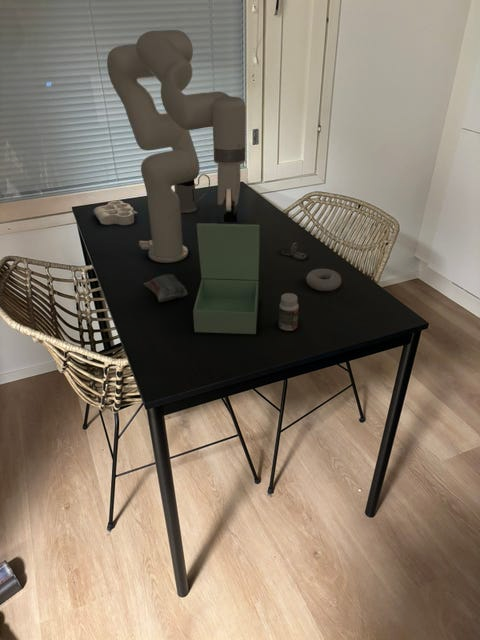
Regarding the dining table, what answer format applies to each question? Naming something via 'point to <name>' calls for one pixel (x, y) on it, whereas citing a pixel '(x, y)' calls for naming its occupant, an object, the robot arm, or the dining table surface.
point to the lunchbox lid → (229, 250)
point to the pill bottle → (288, 312)
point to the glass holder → (188, 195)
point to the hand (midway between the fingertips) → (230, 227)
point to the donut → (323, 279)
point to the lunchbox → (226, 306)
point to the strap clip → (292, 252)
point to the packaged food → (166, 287)
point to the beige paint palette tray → (115, 213)
